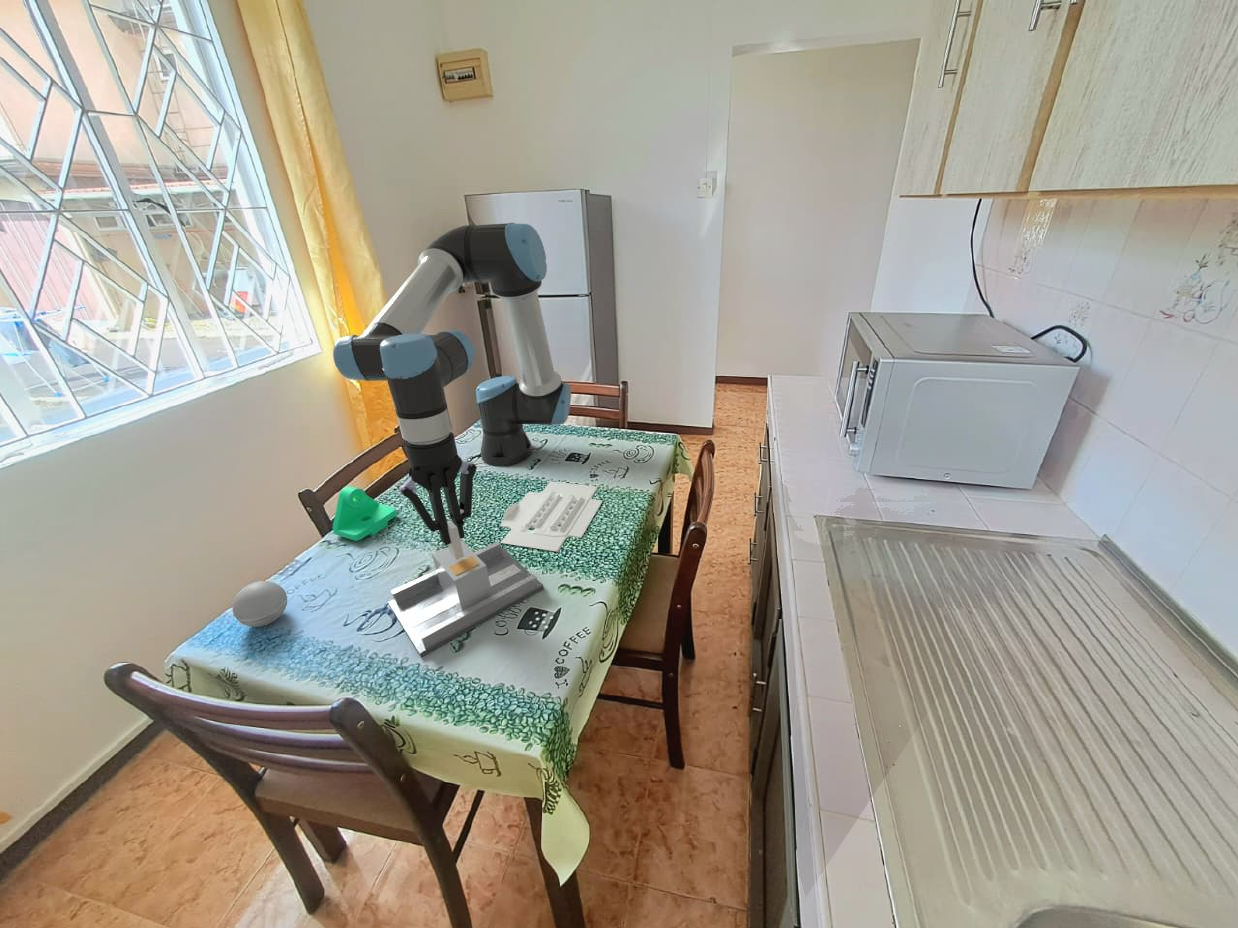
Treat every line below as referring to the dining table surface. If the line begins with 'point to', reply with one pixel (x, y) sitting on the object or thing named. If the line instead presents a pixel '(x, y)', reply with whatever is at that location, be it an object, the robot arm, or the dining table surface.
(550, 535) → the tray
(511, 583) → the rail
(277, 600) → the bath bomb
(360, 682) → the dining table surface
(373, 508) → the camera mount
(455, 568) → the module
